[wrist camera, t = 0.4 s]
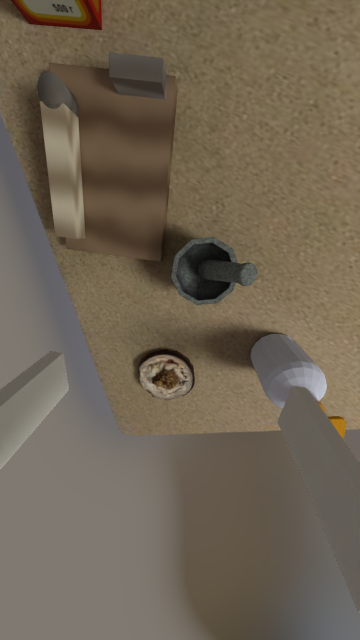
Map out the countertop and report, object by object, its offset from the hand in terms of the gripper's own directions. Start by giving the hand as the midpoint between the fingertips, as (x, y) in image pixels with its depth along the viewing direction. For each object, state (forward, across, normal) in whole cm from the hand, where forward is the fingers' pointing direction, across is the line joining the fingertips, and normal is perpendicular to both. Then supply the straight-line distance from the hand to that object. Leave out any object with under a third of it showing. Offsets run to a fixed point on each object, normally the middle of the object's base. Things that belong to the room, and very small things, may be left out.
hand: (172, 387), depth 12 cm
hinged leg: (+24, -19, +15) cm, 34 cm away
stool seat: (+27, -13, +15) cm, 34 cm away
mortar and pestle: (+27, +2, +4) cm, 27 cm away
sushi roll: (+28, -3, -20) cm, 34 cm away
